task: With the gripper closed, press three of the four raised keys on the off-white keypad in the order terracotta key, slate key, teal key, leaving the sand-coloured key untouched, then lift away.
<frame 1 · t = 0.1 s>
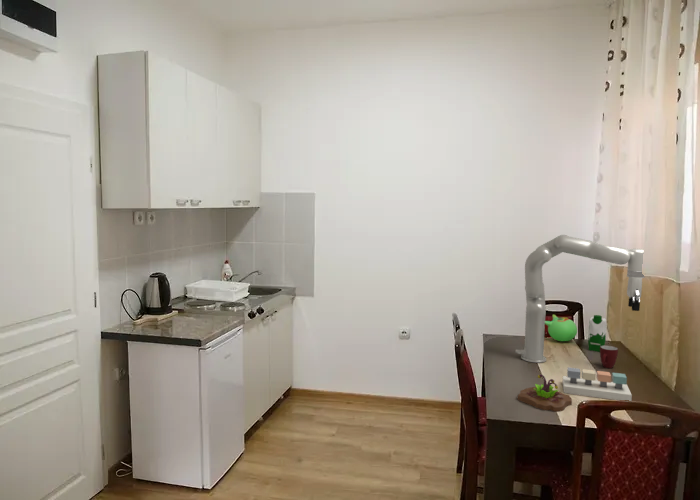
hand: (633, 308, 245), 31 cm above the table, tool pointing down, fingers open, 9 cm apart
toy bird: (560, 340, 300), on the table
keypad base: (595, 391, 219), on the table
mug: (607, 368, 251), on the table
key A: (573, 376, 222), point 6 cm above the table, slide at 0.0 cm
key C: (603, 379, 217), point 6 cm above the table, slide at 0.0 cm
key D: (618, 381, 215), point 6 cm above the table, slide at 0.0 cm
plant: (544, 401, 209), on the table
milk carton: (596, 350, 282), on the table
key B: (588, 378, 220), point 6 cm above the table, slide at 0.0 cm
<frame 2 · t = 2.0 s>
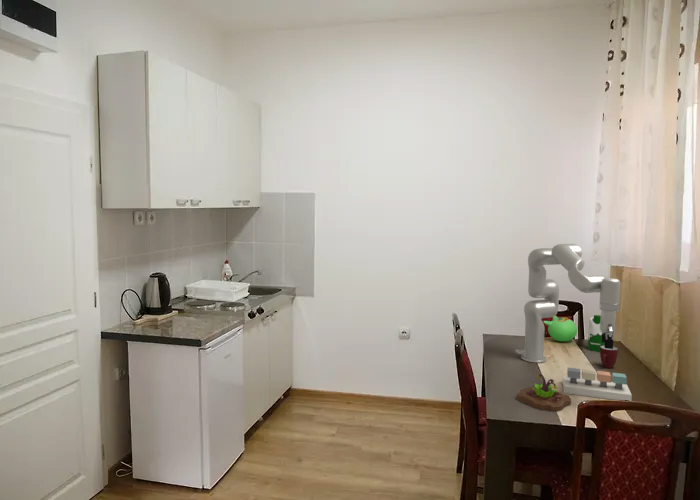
hand: (607, 345, 217), 21 cm above the table, tool pointing down, fingers open, 9 cm apart
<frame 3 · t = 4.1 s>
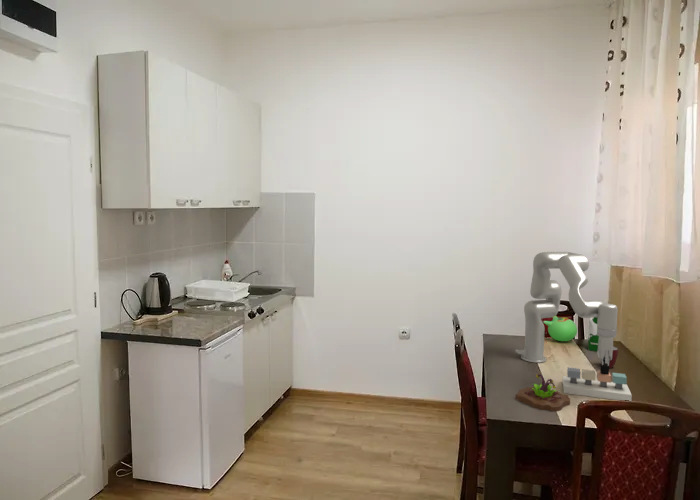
hand: (604, 373, 217), 9 cm above the table, tool pointing down, fingers closed
key C: (603, 380, 217), point 6 cm above the table, slide at 0.0 cm, touching gripper
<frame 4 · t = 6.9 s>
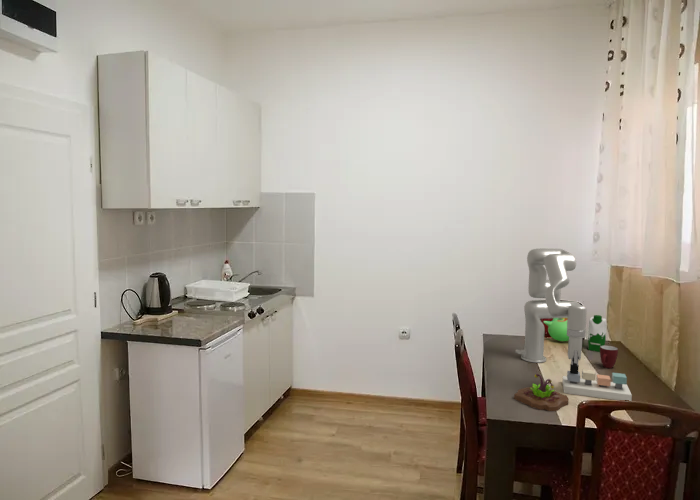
hand: (574, 373, 221), 7 cm above the table, tool pointing down, fingers closed
key A: (573, 379, 222), point 4 cm above the table, slide at 1.5 cm, touching gripper
key C: (603, 383, 218), point 4 cm above the table, slide at 1.6 cm
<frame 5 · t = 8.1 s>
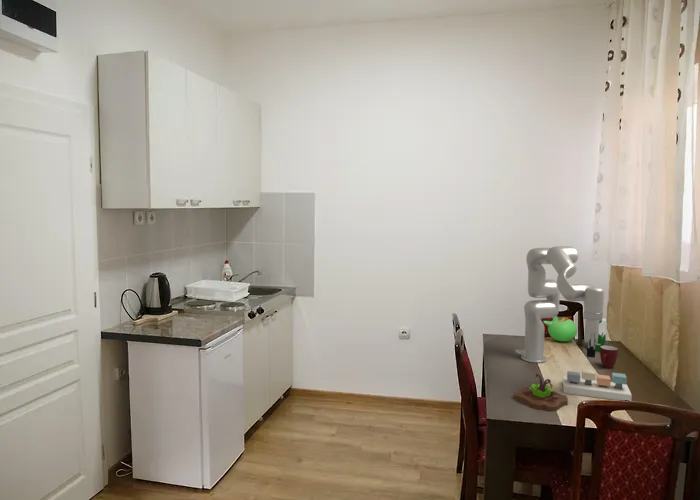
hand: (590, 356, 218), 16 cm above the table, tool pointing down, fingers closed
key A: (573, 379, 222), point 4 cm above the table, slide at 1.6 cm
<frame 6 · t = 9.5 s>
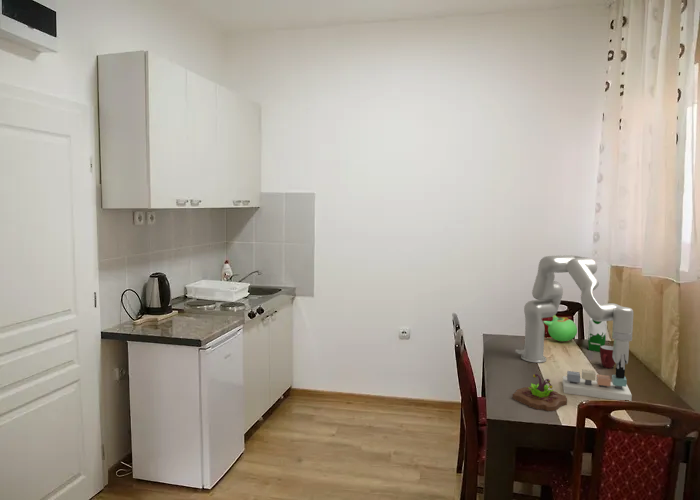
hand: (619, 377, 215), 8 cm above the table, tool pointing down, fingers closed
key D: (618, 383, 215), point 5 cm above the table, slide at 1.0 cm, touching gripper
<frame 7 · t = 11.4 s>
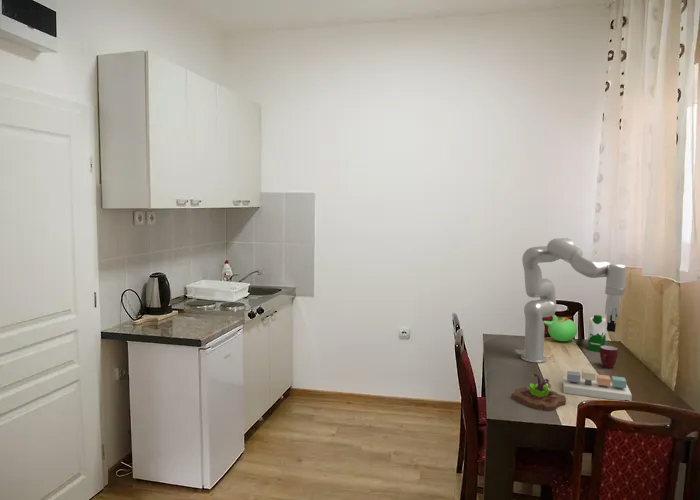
hand: (610, 331, 224), 25 cm above the table, tool pointing down, fingers closed
key D: (618, 385, 216), point 4 cm above the table, slide at 1.6 cm
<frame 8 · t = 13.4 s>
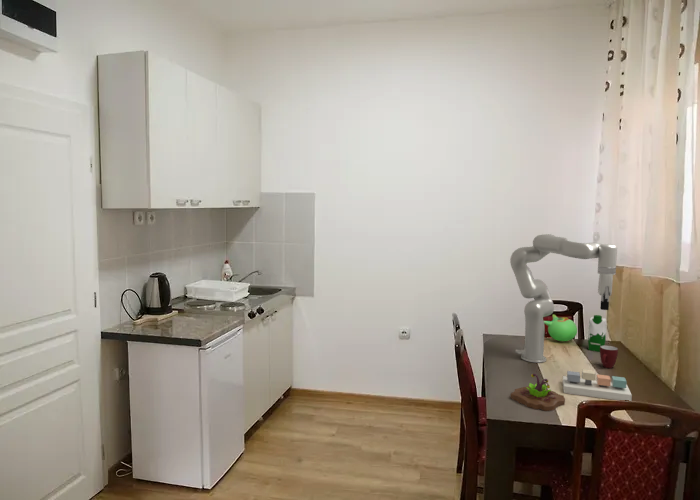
hand: (604, 309, 233), 33 cm above the table, tool pointing down, fingers closed
at the end: key C slide at 1.6 cm; key A slide at 1.6 cm; key D slide at 1.6 cm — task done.
